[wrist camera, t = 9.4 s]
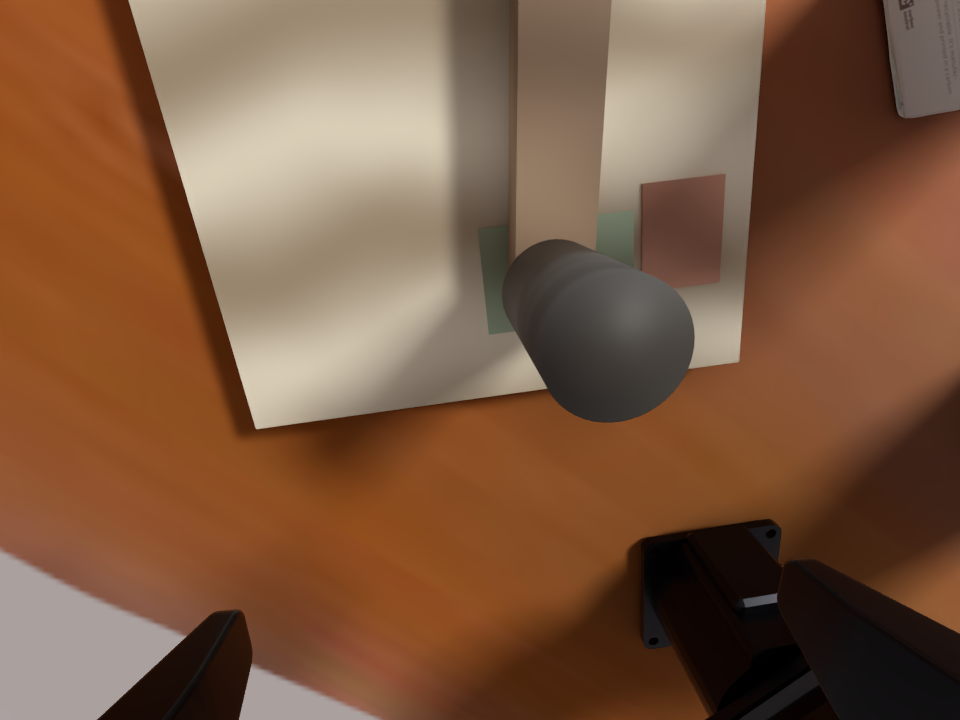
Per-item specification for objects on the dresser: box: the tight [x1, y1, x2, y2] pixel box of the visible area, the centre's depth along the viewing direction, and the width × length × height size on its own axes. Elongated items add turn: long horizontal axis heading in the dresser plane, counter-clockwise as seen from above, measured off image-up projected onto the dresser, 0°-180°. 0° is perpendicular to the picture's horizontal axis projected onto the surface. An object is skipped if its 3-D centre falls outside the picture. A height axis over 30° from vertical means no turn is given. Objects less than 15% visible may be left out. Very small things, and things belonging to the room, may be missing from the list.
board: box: [129, 0, 766, 429], centre depth 15 cm, size 23×18×2 cm
